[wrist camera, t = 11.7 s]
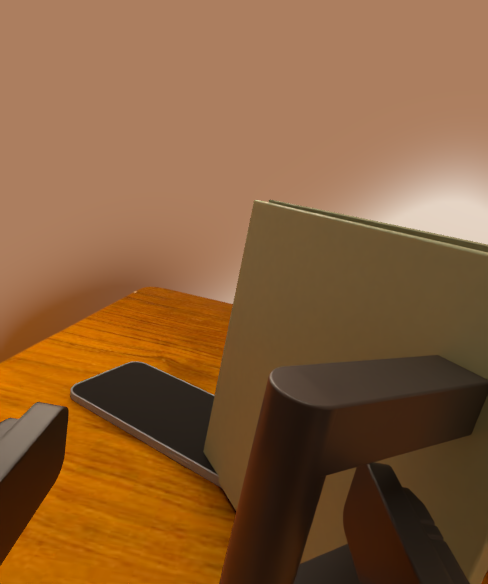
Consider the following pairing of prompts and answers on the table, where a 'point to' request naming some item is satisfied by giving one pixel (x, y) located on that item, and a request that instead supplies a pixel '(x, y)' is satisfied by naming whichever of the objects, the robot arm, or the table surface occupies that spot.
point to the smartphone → (153, 411)
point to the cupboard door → (348, 391)
